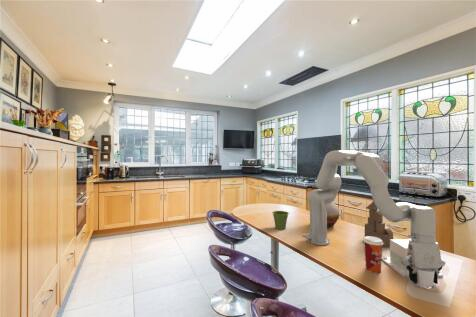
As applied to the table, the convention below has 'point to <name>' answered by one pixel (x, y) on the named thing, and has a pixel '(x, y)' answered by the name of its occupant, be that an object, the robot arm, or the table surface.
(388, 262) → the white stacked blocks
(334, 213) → the jug
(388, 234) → the wooden toy
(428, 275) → the white cylinder
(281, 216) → the plant pot
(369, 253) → the paper cup
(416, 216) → the robot arm
